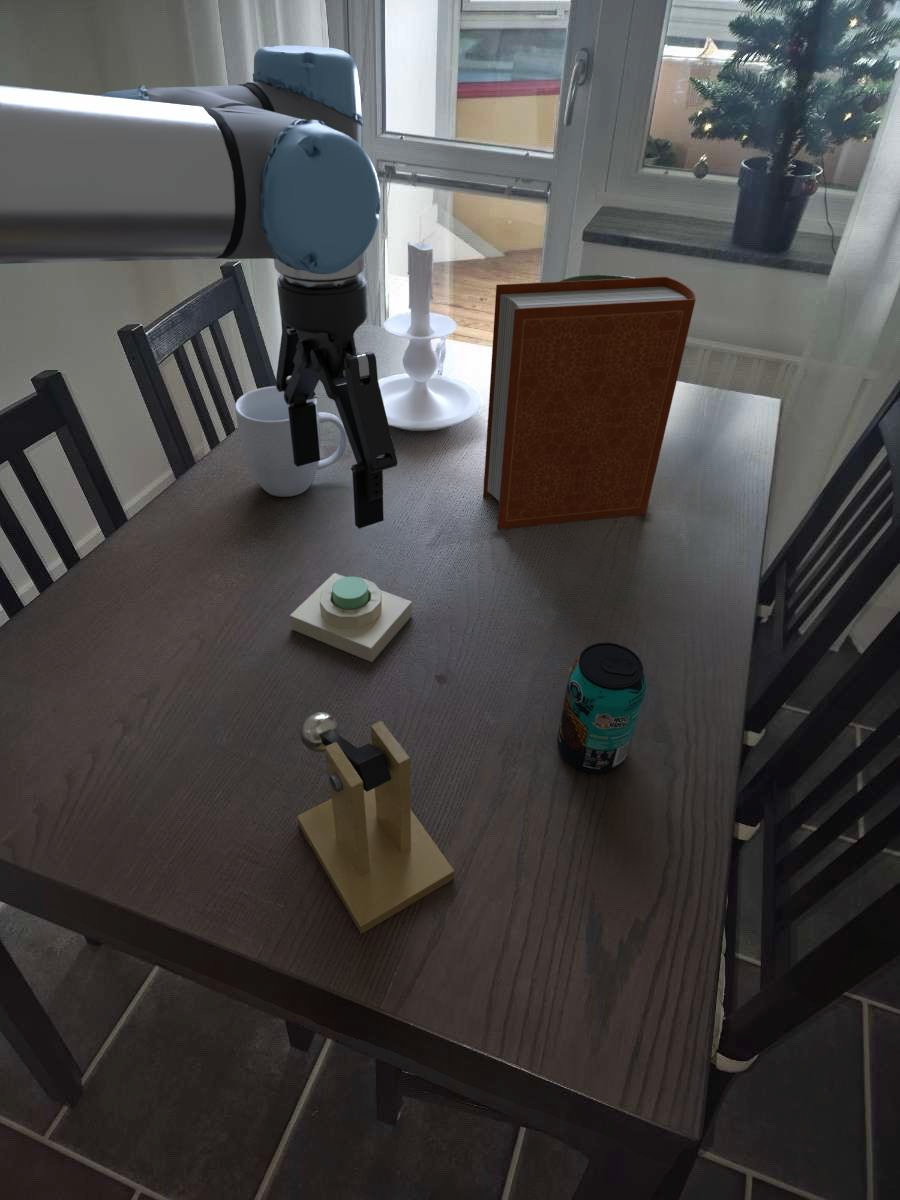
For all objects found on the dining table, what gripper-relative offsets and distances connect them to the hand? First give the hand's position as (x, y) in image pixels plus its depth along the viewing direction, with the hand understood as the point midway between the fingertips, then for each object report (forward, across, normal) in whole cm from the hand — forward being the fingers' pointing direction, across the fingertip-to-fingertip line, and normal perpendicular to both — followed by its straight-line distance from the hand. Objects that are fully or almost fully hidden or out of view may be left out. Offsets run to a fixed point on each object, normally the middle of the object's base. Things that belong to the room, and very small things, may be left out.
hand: (336, 491), depth 77 cm
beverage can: (+18, -30, -12) cm, 37 cm away
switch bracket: (+18, -28, +12) cm, 35 cm away
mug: (+18, +31, -8) cm, 36 cm away
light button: (+14, 0, -1) cm, 14 cm away
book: (+17, +5, -39) cm, 43 cm away
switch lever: (+11, -24, +12) cm, 29 cm away
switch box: (+18, 0, -1) cm, 18 cm away
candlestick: (+17, +41, -37) cm, 57 cm away
